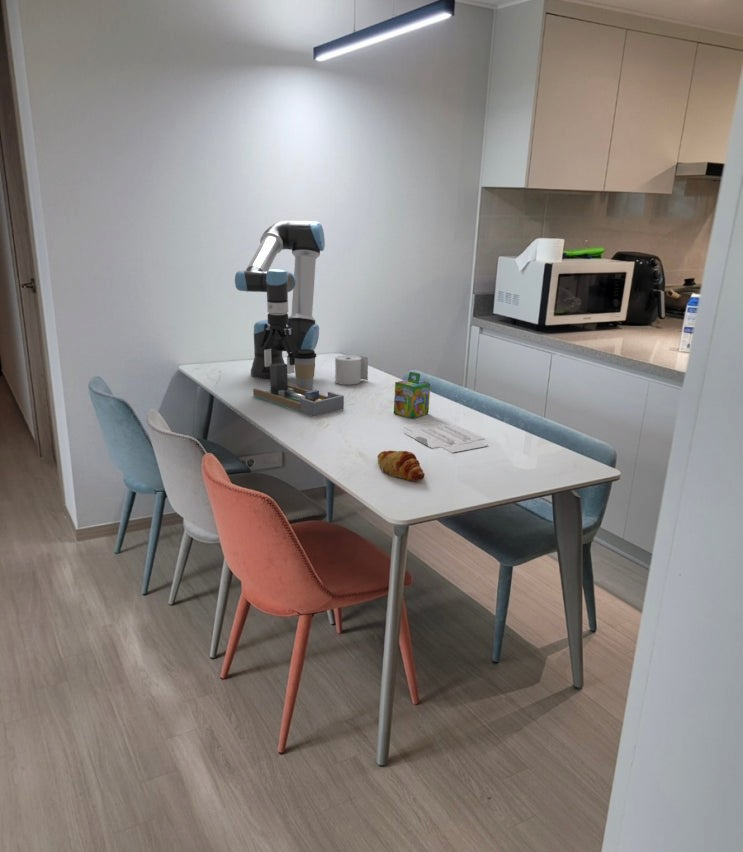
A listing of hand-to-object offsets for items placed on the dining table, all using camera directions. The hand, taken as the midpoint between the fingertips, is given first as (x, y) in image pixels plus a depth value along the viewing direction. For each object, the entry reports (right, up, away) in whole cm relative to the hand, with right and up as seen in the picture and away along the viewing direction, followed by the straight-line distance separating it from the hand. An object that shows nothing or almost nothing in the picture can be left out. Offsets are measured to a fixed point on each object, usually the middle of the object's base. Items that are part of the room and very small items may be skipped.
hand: (279, 369), depth 266 cm
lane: (+5, -12, -2) cm, 13 cm away
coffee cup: (+8, -6, +15) cm, 18 cm away
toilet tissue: (+25, -3, +27) cm, 37 cm away
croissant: (+43, -34, -67) cm, 87 cm away
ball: (+16, -13, -13) cm, 25 cm away
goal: (+17, -15, -13) cm, 26 cm away
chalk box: (+49, -17, -15) cm, 54 cm away
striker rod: (+6, -11, -4) cm, 13 cm away
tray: (+58, -25, -38) cm, 74 cm away
